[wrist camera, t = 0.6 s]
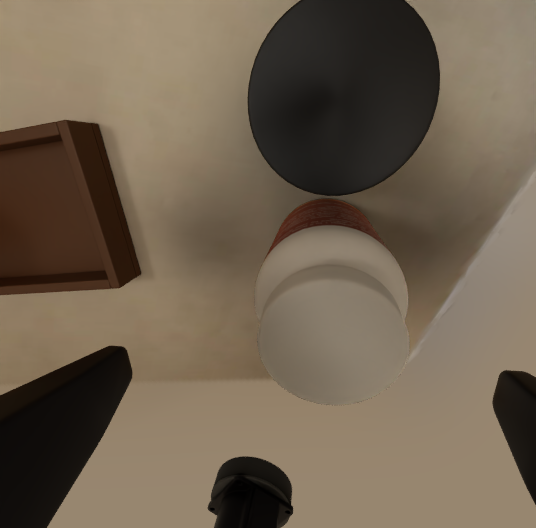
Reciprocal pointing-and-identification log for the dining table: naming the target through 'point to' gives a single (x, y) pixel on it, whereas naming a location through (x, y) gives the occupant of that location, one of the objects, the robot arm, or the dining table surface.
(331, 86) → the charcoal tin
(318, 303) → the pill bottle
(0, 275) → the walnut tray
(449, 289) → the dining table surface
